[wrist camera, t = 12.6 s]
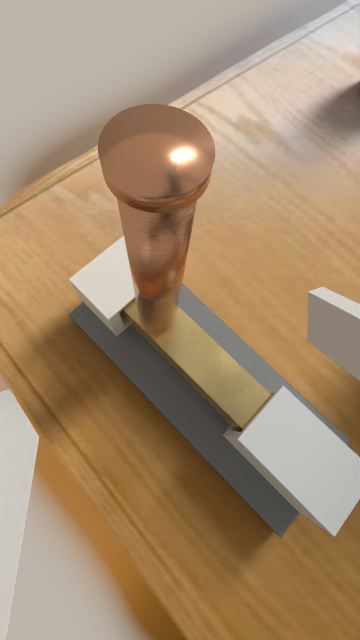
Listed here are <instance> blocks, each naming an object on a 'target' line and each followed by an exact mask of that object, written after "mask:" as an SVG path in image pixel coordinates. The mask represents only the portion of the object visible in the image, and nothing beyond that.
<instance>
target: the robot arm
mask: <svg viewBox="0 0 360 640" xmlns="http://www.w3.org/2000/svg"><path fill="white" fill-rule="evenodd" d="M308 342H309V343H310V344H311V345H313V346H314V347H315V348H317V349H318V350H319V351H321V352H322V353H323V354H325V355H326V356H327V357H329V358H330V359H331V360H333V361H334V362H335V363H337V364H338V365H339V366H341V367H342V368H343V369H345V370H346V371H347V372H349V373H350V374H351V375H353V376H354V377H355V378H357V379H358V380H359V381H360V304H358V303H356V302H354V301H352V300H350V299H347V298H345V297H343V296H341V295H339V294H337V293H335V292H333V291H331V290H328V289H326V288H324V287H321V288H318V289H315V290H312V291H308ZM38 442H39V436H38V434H37V433H36V431H35V429H34V428H33V426H32V424H31V423H30V421H29V419H28V418H27V416H26V415H25V413H24V411H23V410H22V408H21V406H20V405H19V403H18V401H17V400H16V398H15V397H14V395H13V393H12V392H11V390H10V389H8V390H5V391H2V392H0V640H6V638H7V632H8V626H9V620H10V614H11V608H12V602H13V596H14V590H15V583H16V577H17V571H18V565H19V559H20V553H21V547H22V541H23V534H24V528H25V522H26V516H27V510H28V504H29V498H30V491H31V485H32V479H33V473H34V467H35V460H36V454H37V448H38Z"/></svg>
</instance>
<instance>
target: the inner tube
mask: <svg viewBox="0 0 360 640" xmlns="http://www.w3.org/2000/svg"><path fill="white" fill-rule="evenodd" d="M98 153H99V158H100V163H101V167H102V172H103V176H104V179H105V182H106V184H107V186H108V188H109V189H110V191H111V192H112V193H113V194H114V195H115V196H116V197H117V201H118V206H119V211H120V217H121V222H122V228H123V233H124V238H125V244H126V249H127V255H128V260H129V265H130V271H131V276H132V282H133V287H134V292H135V299H134V300H133V301H131V302H130V303H129V304H128V305H127V306H126V307H125V308H123V309H122V310H121V311H120V312H119V314H120V315H121V316H122V317H123V318H124V319H125V320H126V321H127V322H128V323H129V324H130V325H131V326H132V327H133V328H134V329H135V330H136V331H137V332H138V333H139V334H140V335H141V336H142V337H143V338H144V339H145V340H146V341H147V342H148V343H149V344H150V345H151V346H152V347H153V348H154V349H155V350H156V351H157V352H158V353H159V354H160V355H161V356H162V357H163V358H164V359H165V360H166V361H167V362H168V363H169V364H170V365H171V367H172V368H173V369H174V370H175V371H176V372H177V373H178V374H179V375H180V376H181V377H182V378H183V379H184V380H185V381H186V382H187V383H188V384H189V385H190V386H191V387H192V388H193V389H194V390H195V391H196V392H197V393H198V394H199V395H200V396H201V397H202V398H203V399H204V400H205V401H206V402H207V403H208V404H209V405H210V406H211V407H212V408H213V409H214V410H215V411H216V412H217V413H218V414H219V415H220V416H221V417H222V418H223V419H224V420H225V421H226V422H227V423H228V424H229V425H230V426H231V427H232V428H233V429H234V430H235V431H237V432H242V431H243V429H244V428H245V427H246V426H247V425H248V424H249V422H250V421H251V420H252V419H253V418H254V416H255V415H256V414H257V413H258V412H259V411H260V409H261V408H262V407H263V406H264V405H265V404H266V402H267V401H268V400H269V399H270V398H271V397H272V395H271V394H270V393H269V392H268V391H267V390H266V389H265V388H264V387H262V386H261V385H260V384H259V383H258V382H257V381H256V380H255V379H254V378H253V377H252V376H251V375H250V374H249V373H248V372H247V371H246V370H245V369H244V368H243V367H242V366H240V365H239V364H238V363H237V362H236V361H235V360H234V359H233V358H232V357H231V356H230V355H229V354H228V353H227V352H226V351H225V350H224V349H223V348H222V347H221V346H220V345H218V344H217V343H216V342H215V341H214V340H213V339H212V338H211V337H210V336H209V335H208V334H207V333H206V332H205V331H204V330H203V329H202V328H201V327H200V326H199V325H198V324H197V323H195V322H194V321H193V320H192V319H191V318H190V317H189V316H188V315H187V314H186V313H185V312H184V311H183V310H182V309H181V308H180V307H179V306H178V303H179V297H180V292H181V286H182V281H183V275H184V270H185V264H186V259H187V253H188V248H189V242H190V237H191V231H192V226H193V220H194V215H195V209H196V204H197V200H198V199H199V198H200V197H201V196H202V194H203V193H204V192H205V190H206V188H207V187H208V184H209V181H210V177H211V172H212V168H213V163H214V158H215V146H214V142H213V139H212V136H211V134H210V133H209V131H208V130H207V128H206V127H205V126H204V125H203V123H202V122H200V121H199V120H198V119H197V118H196V117H194V116H193V115H191V114H190V113H188V112H186V111H184V110H181V109H179V108H176V107H172V106H168V105H160V104H147V105H140V106H135V107H132V108H129V109H127V110H124V111H122V112H120V113H119V114H117V115H116V116H114V117H113V118H112V119H111V120H110V121H109V122H108V123H107V124H106V126H105V127H104V129H103V130H102V132H101V135H100V137H99V142H98Z"/></svg>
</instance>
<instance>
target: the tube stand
mask: <svg viewBox="0 0 360 640" xmlns="http://www.w3.org/2000/svg"><path fill="white" fill-rule="evenodd" d="M69 280H70V282H71V283H72V285H73V287H74V288H75V290H76V291H77V293H78V294H79V296H80V297H81V299H82V301H83V303H82V304H81V305H80V306H78V307H77V308H76V309H75V310H74V311H72V312H71V313H70V314H69V316H70V317H71V318H72V319H73V320H74V321H75V322H76V324H77V325H78V326H79V327H80V328H81V329H82V330H83V331H84V332H85V333H86V334H87V335H88V336H89V337H90V338H91V339H92V340H93V341H94V342H95V344H96V345H97V346H98V347H99V348H100V349H101V350H102V351H103V352H104V353H105V354H106V355H107V356H108V357H109V358H110V359H111V360H112V361H113V362H114V363H115V365H116V366H117V367H118V368H119V369H120V370H121V371H122V372H123V373H124V374H125V375H126V376H127V377H128V378H129V379H130V380H131V381H132V382H133V383H134V385H135V386H136V387H137V388H138V389H139V390H140V391H141V392H142V393H143V394H144V395H145V396H146V397H147V398H148V399H149V400H150V401H151V402H152V403H153V404H154V406H155V407H156V408H157V409H158V410H159V411H160V412H161V413H162V414H163V415H164V416H165V417H166V418H167V419H168V420H169V421H170V422H171V423H172V424H173V425H174V427H175V428H176V429H177V430H178V431H179V432H180V433H181V434H182V435H183V436H184V437H185V438H186V439H187V440H188V441H189V442H190V443H191V444H192V445H193V447H194V448H195V449H196V450H197V451H198V452H199V453H200V454H201V455H202V456H203V457H204V458H205V459H206V460H207V461H208V462H209V463H210V464H211V465H212V466H213V468H214V469H215V470H216V471H217V472H218V473H219V474H220V475H221V476H222V477H223V478H224V479H225V480H226V481H227V482H228V483H229V484H230V485H231V486H232V488H233V489H234V490H235V491H236V492H237V493H238V494H239V495H240V496H241V497H242V498H243V499H244V500H245V501H246V502H247V503H248V504H249V505H250V506H251V507H252V509H253V510H254V511H255V512H256V513H257V514H258V515H259V516H260V517H261V518H262V519H263V520H264V521H265V522H266V523H267V524H268V525H269V526H270V527H271V529H272V530H273V531H274V532H275V533H276V534H277V535H278V536H279V537H280V538H282V536H283V535H284V534H285V532H286V531H287V529H288V528H289V527H290V525H291V524H292V522H293V521H294V520H295V518H296V517H297V515H298V514H299V513H300V514H301V515H303V516H304V517H306V518H307V519H309V520H310V521H312V522H313V523H315V524H316V525H318V526H319V527H321V528H322V529H324V530H325V531H327V532H328V533H330V534H331V535H332V536H334V537H335V535H336V534H337V532H338V531H339V529H340V528H341V526H342V525H343V523H344V522H345V520H346V519H347V517H348V516H349V514H350V513H351V511H352V510H353V508H354V507H355V505H356V504H357V502H358V501H359V499H360V457H359V456H358V455H357V454H356V453H355V452H354V451H352V450H351V449H350V448H349V447H348V445H349V443H350V442H351V441H350V440H349V439H348V438H347V437H346V436H345V435H344V434H343V433H341V432H340V431H339V430H338V429H337V428H336V427H335V426H334V425H333V424H332V423H331V422H330V421H329V420H328V419H326V418H325V417H324V416H323V415H322V414H321V413H320V412H319V411H318V410H317V409H316V408H315V407H314V406H313V405H312V404H310V403H309V402H308V401H307V400H306V399H305V398H304V397H303V396H302V395H301V394H300V393H299V392H298V391H297V390H295V389H294V388H293V387H292V386H291V385H290V384H289V383H288V382H287V381H286V380H285V379H284V378H283V377H282V376H280V375H279V374H278V373H277V372H276V371H275V370H274V369H273V368H272V367H271V366H270V365H269V364H268V363H267V362H266V361H264V360H263V359H262V358H261V357H260V356H259V355H258V354H257V353H256V352H255V351H254V350H253V349H252V348H251V347H249V346H248V345H247V344H246V343H245V342H244V341H243V340H242V339H241V338H240V337H239V336H238V335H237V334H236V333H234V332H233V331H232V330H231V329H230V328H229V327H228V326H227V325H226V324H225V323H224V322H223V321H222V320H221V319H220V318H218V317H217V316H216V315H215V314H214V313H213V312H212V311H211V310H210V309H209V308H208V307H207V306H206V305H205V304H203V303H202V302H201V301H200V300H199V299H198V298H197V297H196V296H195V295H194V294H193V293H192V292H191V291H190V290H189V289H187V288H186V287H185V286H184V285H183V284H182V286H181V292H180V297H179V303H178V306H179V307H180V308H181V309H182V310H183V311H184V312H185V313H186V314H187V315H188V316H189V317H190V318H191V319H192V320H193V321H194V322H195V323H197V324H198V325H199V326H200V327H201V328H202V329H203V330H204V331H205V332H206V333H207V334H208V335H209V336H210V337H211V338H212V339H213V340H214V341H215V342H216V343H217V344H218V345H220V346H221V347H222V348H223V349H224V350H225V351H226V352H227V353H228V354H229V355H230V356H231V357H232V358H233V359H234V360H235V361H236V362H237V363H238V364H239V365H240V366H242V367H243V368H244V369H245V370H246V371H247V372H248V373H249V374H250V375H251V376H252V377H253V378H254V379H255V380H256V381H257V382H258V383H259V384H260V385H261V386H262V387H264V388H265V389H266V390H267V391H268V392H269V393H270V394H271V395H272V397H271V398H270V399H269V400H268V401H267V402H266V404H265V405H264V406H263V407H262V408H261V409H260V411H259V412H258V413H257V414H256V415H255V416H254V418H253V419H252V420H251V421H250V422H249V424H248V425H247V426H246V427H245V428H244V429H243V431H242V432H237V431H235V430H234V429H233V428H232V427H231V426H230V425H229V424H228V423H227V422H226V421H225V420H224V419H223V418H222V417H221V416H220V415H219V414H218V413H217V412H216V411H215V410H214V409H213V408H212V407H211V406H210V405H209V404H208V403H207V402H206V401H205V400H204V399H203V398H202V397H201V396H200V395H199V394H198V393H197V392H196V391H195V390H194V389H193V388H192V387H191V386H190V385H189V384H188V383H187V382H186V381H185V380H184V379H183V378H182V377H181V376H180V375H179V374H178V373H177V372H176V371H175V370H174V369H173V368H172V367H171V365H170V364H169V363H168V362H167V361H166V360H165V359H164V358H163V357H162V356H161V355H160V354H159V353H158V352H157V351H156V350H155V349H154V348H153V347H152V346H151V345H150V344H149V343H148V342H147V341H146V340H145V339H144V338H143V337H142V336H141V335H140V334H139V333H138V332H137V331H136V330H135V329H134V328H133V327H132V326H131V325H130V324H129V323H128V322H127V321H126V320H125V319H124V318H123V317H122V316H121V315H120V314H119V312H120V311H121V310H122V309H123V308H125V307H126V306H127V305H128V304H129V303H130V302H131V301H133V300H134V299H135V292H134V287H133V282H132V276H131V271H130V265H129V260H128V255H127V249H126V244H125V238H124V236H123V237H122V238H120V239H119V240H118V241H117V242H115V243H114V244H113V245H111V246H110V247H109V248H108V249H106V250H105V251H104V252H103V253H101V254H100V255H99V256H97V257H96V258H95V259H94V260H92V261H91V262H90V263H89V264H87V265H86V266H85V267H83V268H82V269H81V270H80V271H78V272H77V273H76V274H75V275H73V276H72V277H71V278H70V279H69Z"/></svg>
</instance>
